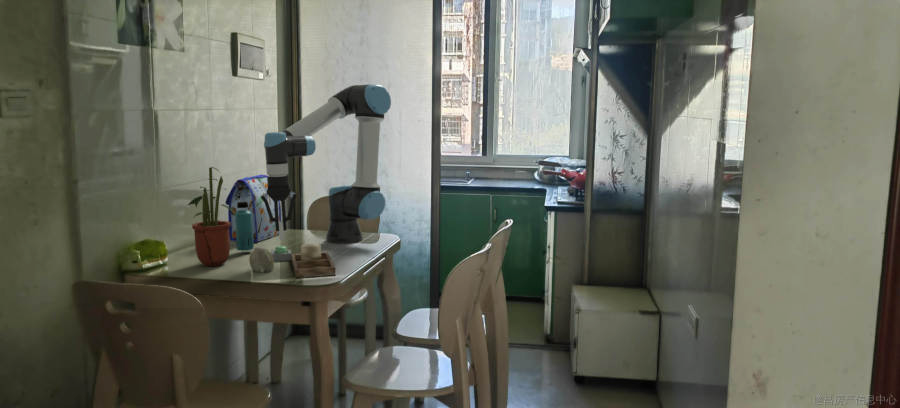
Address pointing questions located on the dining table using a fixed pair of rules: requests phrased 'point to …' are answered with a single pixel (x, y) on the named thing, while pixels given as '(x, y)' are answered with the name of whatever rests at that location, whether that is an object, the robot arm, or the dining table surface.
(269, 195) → the robot arm
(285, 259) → the button box
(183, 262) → the dining table surface
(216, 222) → the potted plant
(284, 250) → the button
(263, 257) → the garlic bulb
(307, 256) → the block
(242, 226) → the beverage bottle
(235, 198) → the lunch bag
